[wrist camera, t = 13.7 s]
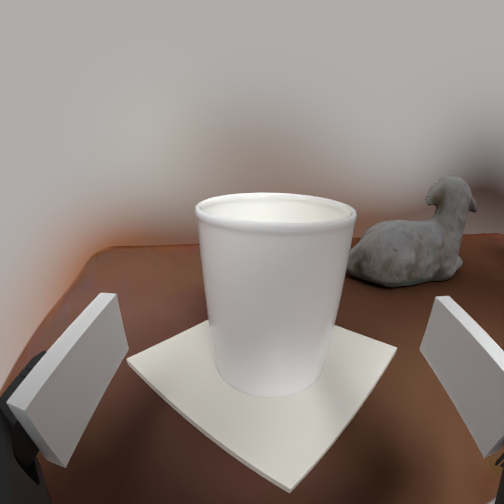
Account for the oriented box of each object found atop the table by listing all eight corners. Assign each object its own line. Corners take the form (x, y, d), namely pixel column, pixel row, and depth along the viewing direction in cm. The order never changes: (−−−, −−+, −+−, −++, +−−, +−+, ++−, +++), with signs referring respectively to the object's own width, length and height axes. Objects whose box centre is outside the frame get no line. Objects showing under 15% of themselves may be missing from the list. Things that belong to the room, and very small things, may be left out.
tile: (395, 353, 23) (397, 347, 23) (289, 493, 12) (290, 489, 12) (256, 299, 33) (256, 294, 33) (127, 364, 22) (126, 358, 22)
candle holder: (358, 371, 21) (389, 214, 17) (245, 428, 16) (245, 234, 12) (284, 316, 29) (291, 189, 25) (186, 345, 24) (174, 199, 20)
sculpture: (470, 276, 39) (486, 181, 34) (387, 309, 31) (408, 171, 26) (421, 254, 48) (432, 170, 43) (331, 273, 40) (340, 161, 35)
